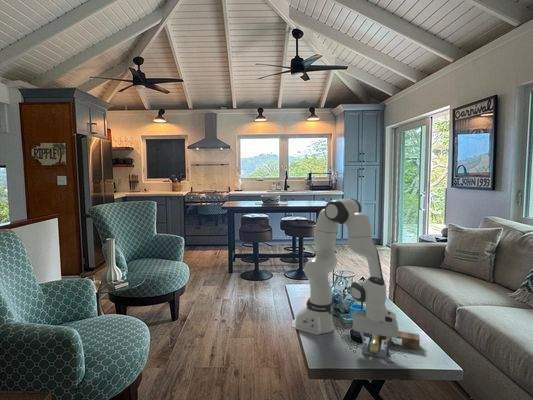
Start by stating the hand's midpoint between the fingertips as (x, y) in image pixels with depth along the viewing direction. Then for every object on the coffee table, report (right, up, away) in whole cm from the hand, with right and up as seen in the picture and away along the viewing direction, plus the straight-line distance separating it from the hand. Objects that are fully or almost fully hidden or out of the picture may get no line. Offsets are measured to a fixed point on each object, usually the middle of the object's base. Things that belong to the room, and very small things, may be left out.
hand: (374, 342), depth 158 cm
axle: (+1, -3, +2) cm, 3 cm away
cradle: (0, -4, +1) cm, 5 cm away
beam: (+13, -4, +8) cm, 16 cm away
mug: (+3, -2, +33) cm, 33 cm away
